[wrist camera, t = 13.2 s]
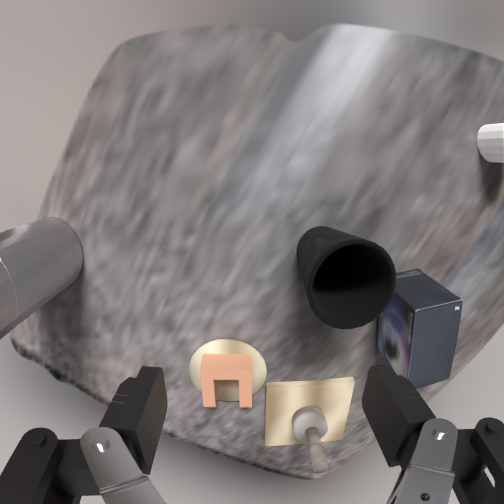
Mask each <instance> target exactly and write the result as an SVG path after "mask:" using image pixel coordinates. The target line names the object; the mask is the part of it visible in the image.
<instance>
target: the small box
mask: <svg viewBox="0 0 504 504" xmlns="http://www.w3.org/2000/svg"><path fill="white" fill-rule="evenodd" d="M462 303H463V300H462V299H461V298H460V297H458V296H456V295H454V294H453V293H452V292H450V291H449V290H448V289H446V288H445V287H443V286H442V285H440V284H439V283H438V282H436V281H435V280H433V279H432V278H430V277H429V276H427V275H426V274H425V273H423V272H422V271H421V270H420V269H415V270H412V271H411V270H410V271H406V272H400V273H396V286H395V290H394V293H393V297H392V299H391V300H390V302H389V304H388V306H387V307H386V308H385V310H384V311H383V312H382V313H381V314H380V315H379V316H378V324H377V344H376V347H377V349H378V350H379V352H380V353H381V354H382V356H383V357H384V359H385V360H386V362H387V363H388V365H390V366H391V367H392V368H393V370H394V371H395V373H396V374H397V375H402V376H403V377H405V378H406V379H408V380H409V381H411V383H412V384H413V386H414V387H415V388H416V389H418V388H421V387H424V386H427V385H430V384H434V383H437V382H440V381H443V380H446V379H449V376H450V371H451V367H452V362H453V358H454V353H455V347H456V342H457V336H458V330H459V324H460V317H461V310H462Z"/></svg>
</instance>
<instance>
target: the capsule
mask: <svg viewBox="0 0 504 504" xmlns="http://www.w3.org/2000/svg"><path fill="white" fill-rule="evenodd" d="M477 143H478V148H479V151H480V154H481V155H482V156H483V158H484V159H485V160H487V161H488V162H499V163H504V123H499V124H489V125H484V126H482V127H481V128H480V130H479V132H478V136H477Z"/></svg>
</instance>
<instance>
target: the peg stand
mask: <svg viewBox="0 0 504 504" xmlns="http://www.w3.org/2000/svg"><path fill="white" fill-rule="evenodd" d="M354 383H355V381H354V379H353V377H344V378H334V379H322V380H309V381H293V382H270V383H266V405H265V438H264V442H265V446H279V445H294V444H308V449H309V453H310V458H311V462H312V467H313V471H314V472H315V473H322V472H324V471H326V470H327V469H328V465H327V461H326V458H325V454H324V450H323V446H322V443H321V442H326V441H334V440H342V436H343V432H344V428H345V424H346V420H347V415H348V411H349V407H350V402H351V398H352V393H353V388H354Z"/></svg>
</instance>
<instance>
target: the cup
mask: <svg viewBox="0 0 504 504" xmlns="http://www.w3.org/2000/svg"><path fill="white" fill-rule="evenodd" d="M297 256H298V260H299V264H300V268H301V272H302V276H303V280H304V284H305V288H306V292H307V296H308V300H309V303H310V306H311V308H312V310H313V312H314V313H315V315H316V316H317V317H318V318H319V319H320V320H321V321H322V322H324V323H326V324H328V325H330V326H332V327H335V328H340V329H353V328H357V327H361V326H364V325H365V324H367V323H369V322H371V321H373V320H374V319H375V318H377V317H378V316H379V315H380V314H381V313H382V312H383V311H384V310H385V308H386V307H387V306H388V304H389V302H390V300H391V299H392V297H393V293H394V290H395V286H396V272H395V266H394V264H393V261H392V259H391V257H390V256H389V254H388V253H387V252H386V251H385V250H384V249H383V248H382V247H381V246H379V245H378V244H376V243H374V242H371V241H368V240H365V239H362V238H359V237H356V236H353V235H350V234H347V233H344V232H341V231H338V230H335V229H332V228H329V227H323V226H319V227H314V228H312V229H310V230H308V231H307V232H306V233H305V234H304V235H303V236H302V237H301V239H300V241H299V243H298V247H297Z"/></svg>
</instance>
